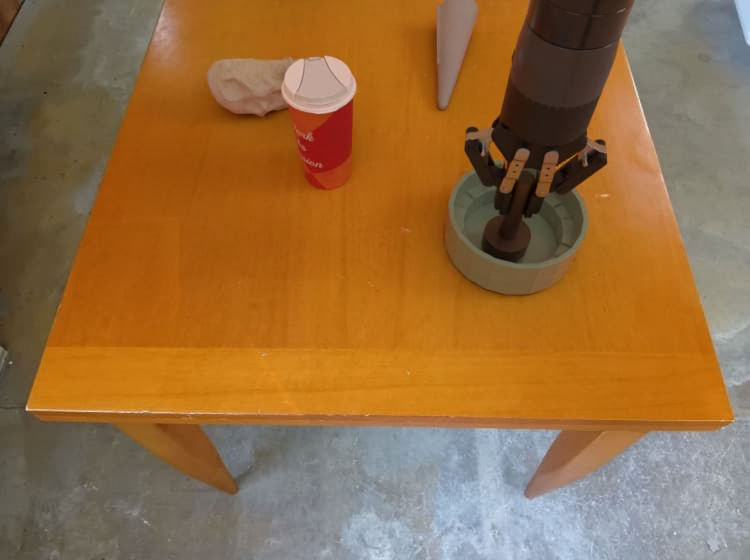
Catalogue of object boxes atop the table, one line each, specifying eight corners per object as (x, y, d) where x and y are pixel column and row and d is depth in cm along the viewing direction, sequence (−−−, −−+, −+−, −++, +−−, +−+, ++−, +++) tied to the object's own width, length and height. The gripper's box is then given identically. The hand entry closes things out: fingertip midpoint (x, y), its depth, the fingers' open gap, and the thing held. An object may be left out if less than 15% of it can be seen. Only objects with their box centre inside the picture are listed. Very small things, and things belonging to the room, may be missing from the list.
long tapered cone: (484, 90, 76) (479, -7, 84) (436, 94, 77) (435, -3, 85) (482, 120, 81) (478, 26, 90) (437, 123, 82) (437, 29, 90)
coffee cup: (293, 153, 76) (276, 56, 63) (354, 145, 77) (349, 47, 64) (300, 201, 71) (283, 107, 59) (365, 192, 72) (362, 97, 59)
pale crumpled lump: (199, 121, 82) (226, 114, 69) (192, 67, 80) (218, 49, 67) (298, 117, 89) (340, 110, 76) (294, 68, 87) (336, 52, 74)
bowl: (599, 253, 67) (617, 221, 62) (504, 321, 62) (516, 293, 57) (510, 175, 74) (519, 141, 68) (417, 231, 69) (421, 199, 64)
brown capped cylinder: (536, 249, 65) (562, 181, 56) (502, 271, 64) (524, 206, 54) (504, 220, 68) (525, 150, 58) (471, 241, 66) (487, 173, 56)
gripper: (468, 95, 44) (447, 230, 59) (651, 112, 43) (583, 246, 58) (474, 36, 48) (452, 177, 63) (641, 50, 47) (580, 190, 62)
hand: (515, 209), depth 60 cm, fingers closed on brown capped cylinder
